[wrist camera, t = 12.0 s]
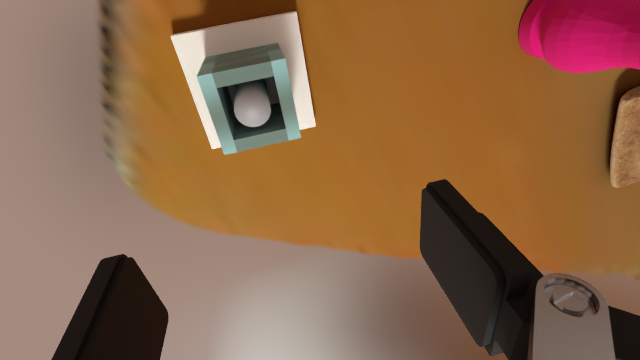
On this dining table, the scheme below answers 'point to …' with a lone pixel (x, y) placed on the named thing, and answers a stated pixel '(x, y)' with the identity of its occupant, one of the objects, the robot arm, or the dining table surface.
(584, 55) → the pepper mill
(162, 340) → the robot arm
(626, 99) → the beige hollow piece
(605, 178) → the dining table surface
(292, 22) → the shaft base
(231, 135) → the collar
